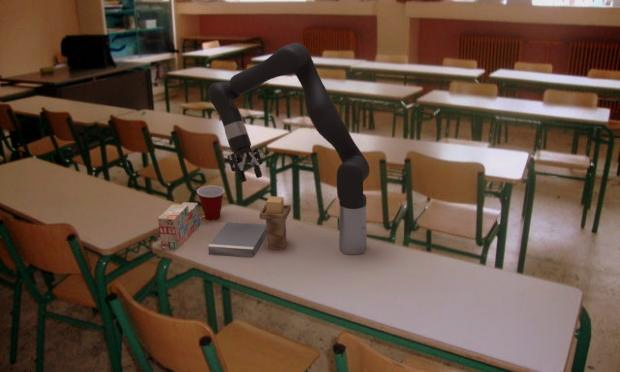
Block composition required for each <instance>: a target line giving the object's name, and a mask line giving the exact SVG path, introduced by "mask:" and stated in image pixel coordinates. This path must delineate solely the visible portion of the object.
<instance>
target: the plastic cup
mask: <svg viewBox="0 0 620 372" xmlns="http://www.w3.org/2000/svg"><path fill="white" fill-rule="evenodd" d="M225 191H226V190H225V188H224V187H221V186H218V185H210V184H209V185H204V186H201V187H199V188H198V189H196V193H197V195H198V197H199V200H200V203H201V204H200V205H201V207H202V211H203V215H204V218H205V219H206V220H207V221H217V220H219V219H220V218H221V213H222V212H221V211H222V204H223V203H222V202H223V196H224V194H225Z"/></svg>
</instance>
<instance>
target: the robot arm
mask: <svg viewBox="0 0 620 372" xmlns="http://www.w3.org/2000/svg"><path fill="white" fill-rule="evenodd" d="M293 74H294V75H295V76H296V78H297V79H298V82H299V83H300V85H301V87H302V90H303V97H304V103H305V109H306V113H307V114H308V118H310V121H311V123H312V124H313V127H314V128H315V130H316V131H317V132H318V134H319V135H320V136H321V137H323V139H325V140H326V141H327V143H329V144H330V145H331V146H332V148H334V150H335V151H336V152H337V155H338V157H339V158H340V161H341V164H339V166H338V168H337V170H336V194H337V199H338V200H339V201H338V207H339V209H338V211H339V212H338V216H339V217H338V218H339V221H338V222H339V223H338V224H339V225H338V230H339V233H338V236H339V239H338V240H339V241H338V243H339V246H338V247H339V251H340V252H341V253H343V254H346V255H351V256H352V255H353V256H354V255H356V256H357V255H359V254H361V255H362V254H365V253H366V249H367V237H368V236H367V233H368V232H367V227H368V226H367V225H368V223H367V196H366V194H364V181H365V180H367V178H368V176H369V174H370V171H371V170H370V165H369V164H370V163H368V160H367V158H366V157H365V156H364V154H363V152H362V151H361V150H360V148H359V147H358V146H357V144H356V143H355V141H354V139H353V138H352V135H351V134H350V133H351V132H350V131H349V130H348V128H347V126H346V124H345V122H344V121H343V119H342V116H341V115H340V113H339V110H338V108H337V107H336V105H335V103H334V101H333V100H332V98H331V96H330V94H329V92H328V90H327V88H326V86H325V85H324V83H323V81H322V80H321V77H320V75H319V73H318V71H317V68H316V66H315V63H314V61H313V59H312V56H311V53H310V51H309V50H308V49H307V47H306V46H305V45H303V44H302V43H301V42H291V43H289V44H286V45H283V46H281V47H280V48H279V49H278V50H276V51H275V52H274V53H273V54H271V55H270V56H268V57H267V58H266V59H264V60H263V61H261V62H260V63H257V64H256V65H253V66H251V67H247V68H246V69H244V70H242V71H240V72H238V73H236V74H234V75H233V76H232V77H231V78H230V79H229V80H228V81H222V82H221V81H220V82H219V81H218V82H217V81H216V82H213V83H211V84H210V86H209V88H208V98H209V101H210V102H211V104H212V105H213V107H214V109H215V110H216V112H217V113H218V115H219V116H220V119H221V123H222V126H223V129H224V133H225V134H224V135H225V137H226V140H227V143H228V146H229V150H230V152H232V153H231V154H228V155H227V160H228V162H229V165H230V170H231V172H232V173H233V172H235V173H236V175H237V176H238V179H239V181H240V182H241V183H244V182H247V177H246V175H245V171H244V166H245V165H246V164H248V165H250V166H251V167H253V172H254V175H255V177H256V178H257V179H259V178H262V177H263V173H262V169H261V165H262V164H263V163H264V161H263V160H262V156H261V154H260V151H259V149H258V148H254V149H252V148H251V146H252V142H251V139H250V137H249V134H248V131H247V127H246V125H245V123H244V121H243V118H242V115H241V112H240V110H239V108H238V106H235V105H232V104H231V103H230V102H233V101H235V100H237V99H238V98H240V97H241V96H242V95H244V94H246V93H249V92H250V91H252V90H255V89H256V88H258V87H259V86H261V85H263V84H265V83H266V82H268V81H270V80H273V79H275V78H278V77H279V78H280V77H282V76H288V75H293Z"/></svg>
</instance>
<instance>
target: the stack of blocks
mask: <svg viewBox="0 0 620 372" xmlns="http://www.w3.org/2000/svg"><path fill="white" fill-rule="evenodd" d="M157 222H158V229H159V235H160V236H159V237H160V244H161V248H162V247H165V248H169V249H168V250H175V249H178V248H179V249H180V248H181V247H182V246H183V245H184V244H185V243H186V242H187V241H188V240H189V238H190V237H191V236H192V234H193V233H194V232H195V231H196V230H197V229H198V228H199V227H200V226H201V217H200V210H199V203H198V202H186V201H184V202H182V203H181V204H174V203H173V204H171V205H170V206H169V207H168V208H167V209H166V210H165V211H164V212H162V214H161V215H159V217H157ZM185 241H186V242H185ZM184 242H185V243H184ZM180 246H181V247H180ZM179 249H178V250H179Z"/></svg>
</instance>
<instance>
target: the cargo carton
mask: <svg viewBox="0 0 620 372" xmlns="http://www.w3.org/2000/svg"><path fill="white" fill-rule="evenodd" d="M284 199H285V198H284V196H272V195H271V196H269V197H268V198H267V200H266V201H265V203H266V204H265V205H266V209H267V214H281V215H282V213H283V211H284V205H285V200H284Z"/></svg>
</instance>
